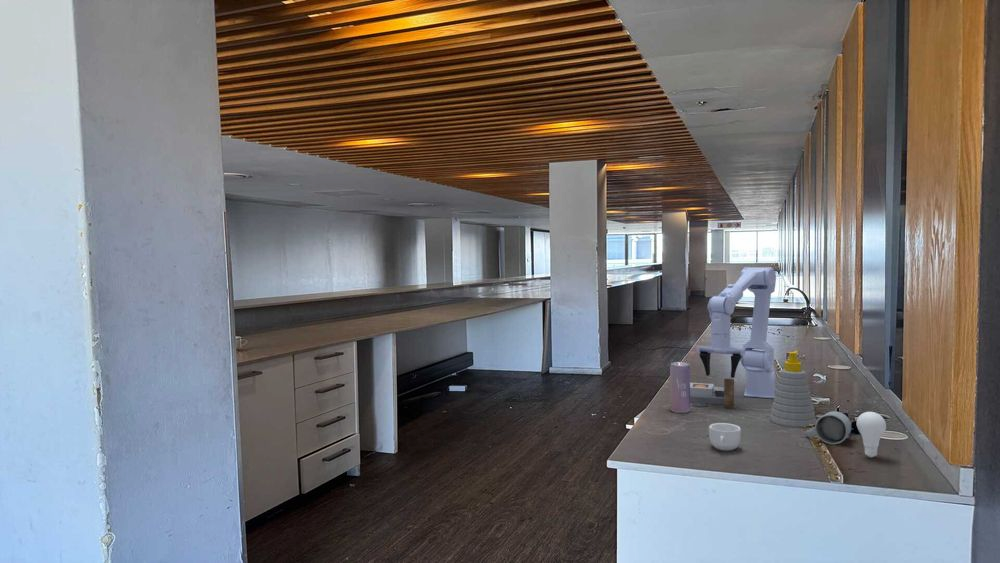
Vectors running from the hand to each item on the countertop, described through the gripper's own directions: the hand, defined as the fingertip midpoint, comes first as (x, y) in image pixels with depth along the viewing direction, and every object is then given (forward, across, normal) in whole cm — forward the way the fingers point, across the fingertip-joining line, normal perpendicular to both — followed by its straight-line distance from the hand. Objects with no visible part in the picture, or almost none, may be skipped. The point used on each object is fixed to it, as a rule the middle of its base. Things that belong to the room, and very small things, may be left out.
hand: (720, 376), depth 201 cm
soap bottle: (+10, +22, -7) cm, 25 cm away
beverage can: (+10, -10, -10) cm, 18 cm away
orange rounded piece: (+7, -8, +8) cm, 13 cm away
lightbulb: (+11, +42, -32) cm, 54 cm away
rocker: (+7, -2, +9) cm, 11 cm away
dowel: (+10, +3, +1) cm, 10 cm away
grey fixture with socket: (+10, -6, +9) cm, 14 cm away
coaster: (+10, -6, -1) cm, 12 cm away
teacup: (+11, +10, -42) cm, 45 cm away
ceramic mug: (+11, +32, -22) cm, 40 cm away
